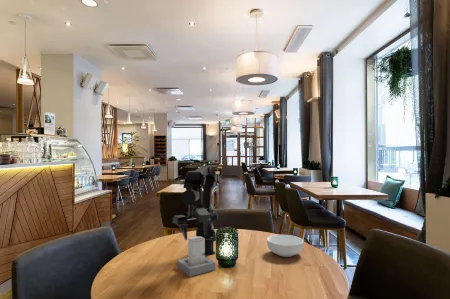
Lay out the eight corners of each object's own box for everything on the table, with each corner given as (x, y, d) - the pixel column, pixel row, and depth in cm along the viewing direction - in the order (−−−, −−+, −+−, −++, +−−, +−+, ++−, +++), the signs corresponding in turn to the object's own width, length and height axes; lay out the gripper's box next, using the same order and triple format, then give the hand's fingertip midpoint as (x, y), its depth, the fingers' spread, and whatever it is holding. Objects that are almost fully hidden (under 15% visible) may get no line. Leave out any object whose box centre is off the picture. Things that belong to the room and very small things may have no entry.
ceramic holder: (201, 261, 129) (201, 254, 129) (215, 269, 119) (215, 262, 119) (177, 267, 122) (177, 260, 122) (189, 276, 112) (189, 269, 112)
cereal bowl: (263, 257, 132) (263, 242, 132) (271, 247, 148) (271, 233, 148) (301, 262, 126) (300, 246, 126) (305, 250, 141) (305, 236, 142)
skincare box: (192, 270, 118) (192, 240, 118) (187, 266, 121) (187, 237, 122) (205, 266, 121) (205, 238, 121) (200, 263, 125) (200, 235, 125)
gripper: (183, 205, 109) (183, 247, 109) (224, 201, 120) (224, 238, 119) (171, 202, 119) (172, 240, 118) (210, 198, 129) (211, 233, 129)
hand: (195, 238), depth 121 cm, fingers open, 9 cm apart
